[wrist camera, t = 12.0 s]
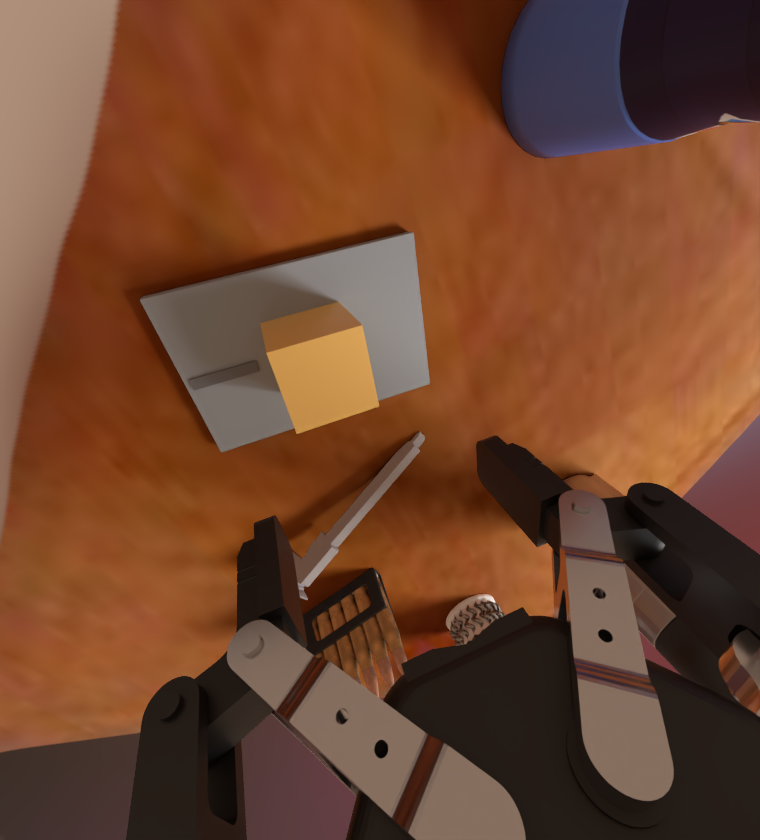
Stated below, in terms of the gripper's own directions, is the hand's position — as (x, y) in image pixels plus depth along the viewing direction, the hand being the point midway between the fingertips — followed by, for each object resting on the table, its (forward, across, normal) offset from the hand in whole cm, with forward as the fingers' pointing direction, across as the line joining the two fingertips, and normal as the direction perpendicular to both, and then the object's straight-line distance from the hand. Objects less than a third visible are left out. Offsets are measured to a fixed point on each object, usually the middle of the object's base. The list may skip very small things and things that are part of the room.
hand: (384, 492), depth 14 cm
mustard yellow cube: (+16, 0, 0) cm, 16 cm away
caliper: (+18, +1, +17) cm, 24 cm away
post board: (+17, 0, 0) cm, 17 cm away
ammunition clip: (+18, +5, +31) cm, 36 cm away
